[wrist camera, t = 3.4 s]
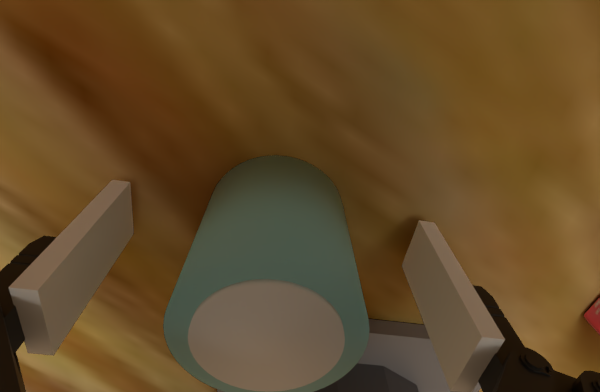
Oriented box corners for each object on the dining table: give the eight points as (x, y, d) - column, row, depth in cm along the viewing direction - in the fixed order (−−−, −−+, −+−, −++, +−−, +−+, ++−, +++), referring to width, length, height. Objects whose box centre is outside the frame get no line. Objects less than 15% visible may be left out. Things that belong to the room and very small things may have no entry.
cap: (212, 145, 16) (157, 249, 10) (357, 166, 16) (396, 277, 10) (206, 261, 19) (162, 397, 13) (328, 275, 19) (345, 412, 13)
